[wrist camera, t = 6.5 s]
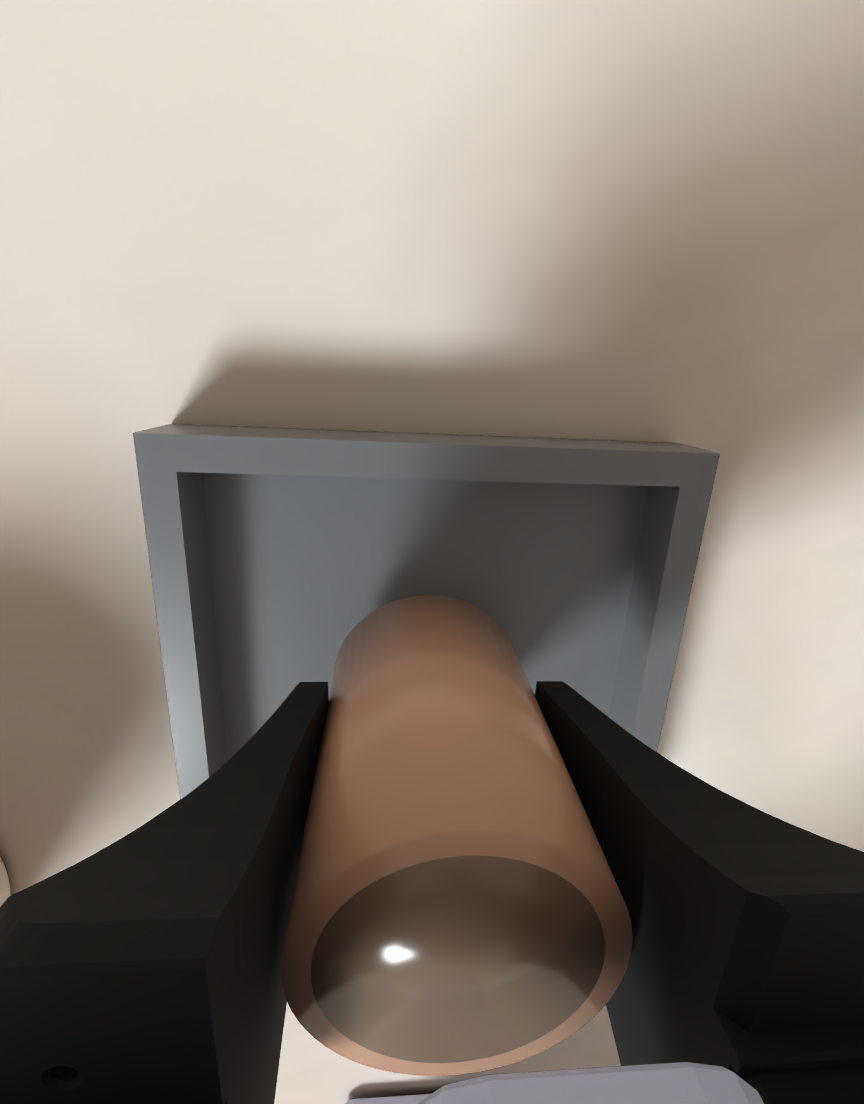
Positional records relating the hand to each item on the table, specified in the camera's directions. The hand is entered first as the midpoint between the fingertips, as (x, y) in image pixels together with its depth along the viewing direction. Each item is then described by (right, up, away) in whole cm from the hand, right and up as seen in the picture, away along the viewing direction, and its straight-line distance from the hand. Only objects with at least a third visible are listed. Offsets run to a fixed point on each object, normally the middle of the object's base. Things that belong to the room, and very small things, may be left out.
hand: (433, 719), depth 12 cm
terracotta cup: (0, 0, +2) cm, 2 cm away
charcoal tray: (0, +1, +3) cm, 4 cm away
